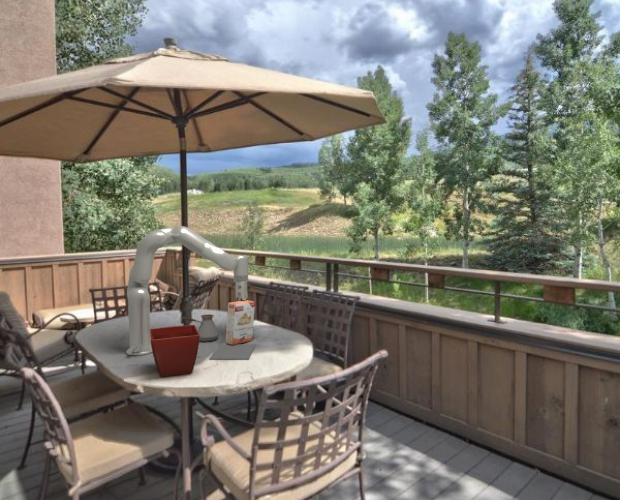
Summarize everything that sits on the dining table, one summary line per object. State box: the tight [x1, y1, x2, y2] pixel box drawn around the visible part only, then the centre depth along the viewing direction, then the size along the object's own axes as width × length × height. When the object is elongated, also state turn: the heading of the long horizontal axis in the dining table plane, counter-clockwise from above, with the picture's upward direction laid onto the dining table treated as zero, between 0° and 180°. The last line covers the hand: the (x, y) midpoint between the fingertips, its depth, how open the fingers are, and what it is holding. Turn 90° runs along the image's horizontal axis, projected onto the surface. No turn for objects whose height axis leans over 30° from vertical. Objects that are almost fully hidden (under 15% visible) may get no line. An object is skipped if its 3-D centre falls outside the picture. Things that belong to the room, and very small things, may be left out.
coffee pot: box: [179, 314, 219, 343], centre depth 227 cm, size 21×12×15 cm, turn 136°
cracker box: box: [225, 299, 256, 345], centre depth 225 cm, size 14×6×21 cm, turn 143°
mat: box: [208, 343, 256, 361], centre depth 211 cm, size 22×18×1 cm
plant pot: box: [150, 324, 200, 378], centre depth 185 cm, size 19×19×17 cm
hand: (241, 312), depth 232 cm, fingers closed
